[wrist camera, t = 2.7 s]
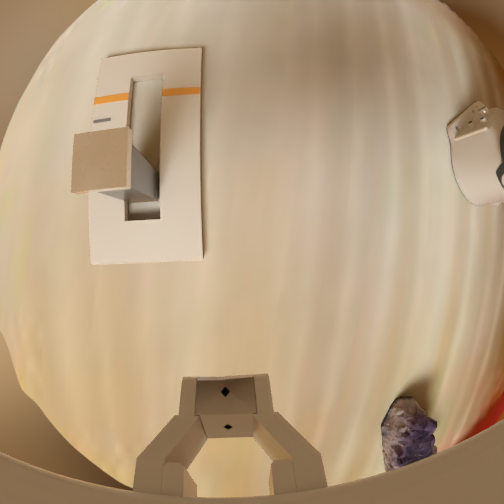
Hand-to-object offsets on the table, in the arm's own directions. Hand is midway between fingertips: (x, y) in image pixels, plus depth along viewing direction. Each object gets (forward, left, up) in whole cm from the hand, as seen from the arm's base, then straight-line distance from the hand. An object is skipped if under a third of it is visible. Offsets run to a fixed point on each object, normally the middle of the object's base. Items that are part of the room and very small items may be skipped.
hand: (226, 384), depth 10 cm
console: (-6, -17, -27) cm, 33 cm away
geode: (+2, +46, -28) cm, 54 cm away
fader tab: (-2, -13, -27) cm, 30 cm away
